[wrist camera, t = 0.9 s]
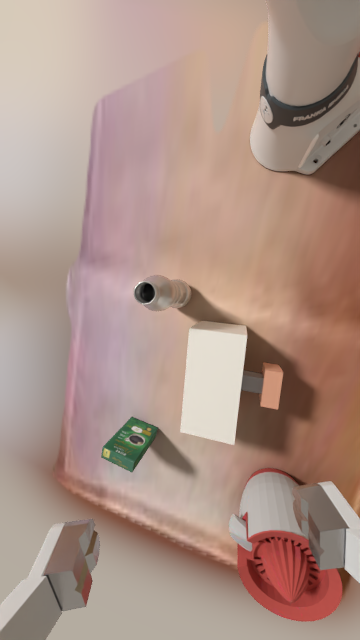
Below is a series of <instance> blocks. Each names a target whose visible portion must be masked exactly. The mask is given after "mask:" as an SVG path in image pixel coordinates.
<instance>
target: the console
mask: <svg viewBox="0 0 360 640" xmlns="http://www.w3.org/2000/svg"><path fill="white" fill-rule="evenodd" d="M246 343H247V329H246V326H245V325H236V324H227V323H218V322H209V321H200V322H199V323H197V324H195V325H194V326H192V327H191V328H189V338H188V350H187V361H186V373H185V384H184V396H183V407H182V419H181V430H180V432H183V433H187V434H191V435H195V436H199V437H203V438H207V439H212V440H216V441H220V442H224V443H228V444H232V445H234V442H235V434H236V426H237V417H238V409H239V401H240V392H241V384H242V376H243V368H244V359H245V351H246Z"/></svg>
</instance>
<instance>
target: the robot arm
mask: <svg viewBox="0 0 360 640" xmlns="http://www.w3.org/2000/svg"><path fill="white" fill-rule="evenodd" d="M266 3H267V7H268V15H269V34H268V52H267V56H266V58H265V62H264V66H263V73H262V81H261V90H260V104H259V109H258V112H257V115H256V118H255V120H254V123H253V126H252V129H251V134H250V145H251V149H252V152H253V154H254V156H255V158H256V159H257V161H258V162H259V163H260V164H262V165H263V166H264V167H266V168H268V169H271V170H274V171H297V172H299V173H302V174H306V175H309V174H312V173H314V172H315V171H316V170H317V169H318V168H319V167H320V166H321V165H323V164H324V163H325V162H326V161H327V160H328V159H329V158H330V157H331V156H332V155H333V154H335V153H336V152H337V151H338V150H339V149H340V148H341V147H342V146H343V145H344V144H345V143H347V142H348V141H349V140H350V139H351V138H352V137H353V136H354V135H355V134H356V133H357V132H359V131H360V0H266ZM315 160H316V161H317V163H314V162H313V161H315ZM292 495H293V496H294V498H295V500H294V502H293V511H294V515H295V518H296V521H297V523H298V526H299V528H300V530H301V532H302V533H303V534H304V535H305V536H306V537H307V538H309V548H310V550H311V553H312V555H313V557H314V559H315V561H316V563H317V565H318V567H319V569H320V570H326V569H335V568H343V567H345V570H346V571H347V572H348V573H349V574H350V575H351V576H353V577H354V578H355V579H356V580H357V581H358V582H359V583H360V518H359V517H358V515H357V514H356V513H355V511H354V510H353V509H352V507H351V506H350V505H349V503H348V502H347V501H346V499H345V498H344V497H343V495H342V494H341V493H340V491H339V490H338V489H337V487H336V486H335V485H334V484H333V483H332V482H331V481H327V482H321V483H313V484H307V485H301V486H296V487H293V488H292ZM94 527H95V523H94V521H93V519H88V520H80V521H72V522H64V523H59V524H54V525H53V526H52V527H51V529H50V530H49V533H48V535H47V537H46V539H45V541H44V543H43V546H42V548H41V550H40V552H39V554H38V556H37V559H36V561H35V563H34V565H33V567H32V569H31V572H30V574H29V576H28V578H27V579H23V580H22V581H21V582H20V583H19V585H18V586H17V587H16V588H15V589H14V590H13V591H12V592H11V594H10V595H9V596H8V597H7V598H6V599H5V600H4V601H3V602H2V603H1V605H0V640H46V638H47V636H48V635H49V633H50V632H51V630H52V628H53V627H54V625H55V624H56V622H57V620H58V619H59V617H60V616H61V614H62V612H61V611H66V610H71V609H76V608H82V607H86V604H87V600H88V596H89V592H90V589H91V585H92V577H91V574H90V573H91V572H92V570H93V569H94V568H95V566H96V565H97V561H98V556H99V548H100V541H99V535H98V533H97V532H95V531H94Z"/></svg>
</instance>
